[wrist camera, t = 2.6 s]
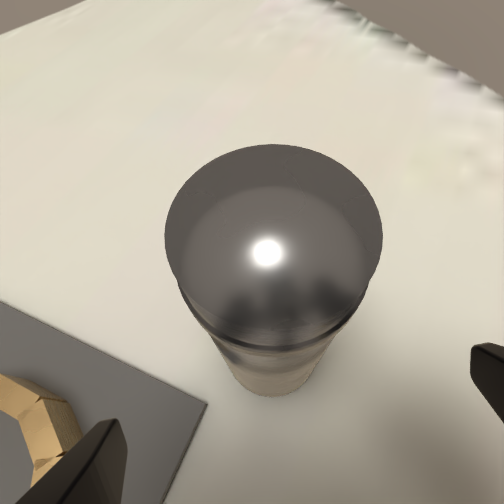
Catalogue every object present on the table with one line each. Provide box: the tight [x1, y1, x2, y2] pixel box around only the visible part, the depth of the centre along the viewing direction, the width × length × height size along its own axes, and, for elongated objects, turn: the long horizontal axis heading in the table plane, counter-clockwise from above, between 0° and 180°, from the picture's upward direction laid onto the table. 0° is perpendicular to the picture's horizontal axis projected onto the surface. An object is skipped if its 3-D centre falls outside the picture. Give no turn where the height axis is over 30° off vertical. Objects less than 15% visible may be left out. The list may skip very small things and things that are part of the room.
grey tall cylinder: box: [165, 144, 383, 397], centre depth 14 cm, size 5×5×13 cm
